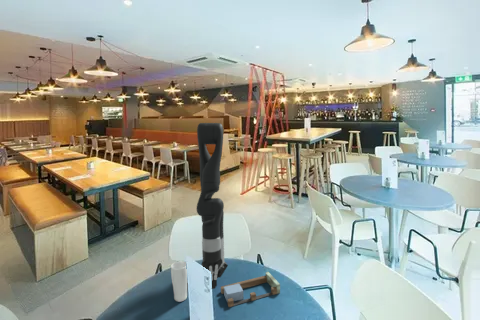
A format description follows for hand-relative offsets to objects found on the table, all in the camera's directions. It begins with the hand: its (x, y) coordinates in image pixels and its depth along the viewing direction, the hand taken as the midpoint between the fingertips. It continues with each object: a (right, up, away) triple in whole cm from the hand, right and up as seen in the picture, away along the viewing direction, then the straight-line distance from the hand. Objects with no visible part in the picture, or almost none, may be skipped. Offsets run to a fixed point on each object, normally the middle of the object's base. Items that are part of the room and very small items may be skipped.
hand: (213, 287), depth 108 cm
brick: (+8, -6, +5) cm, 11 cm away
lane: (+15, -6, +7) cm, 17 cm away
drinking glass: (-14, -7, +4) cm, 16 cm away
